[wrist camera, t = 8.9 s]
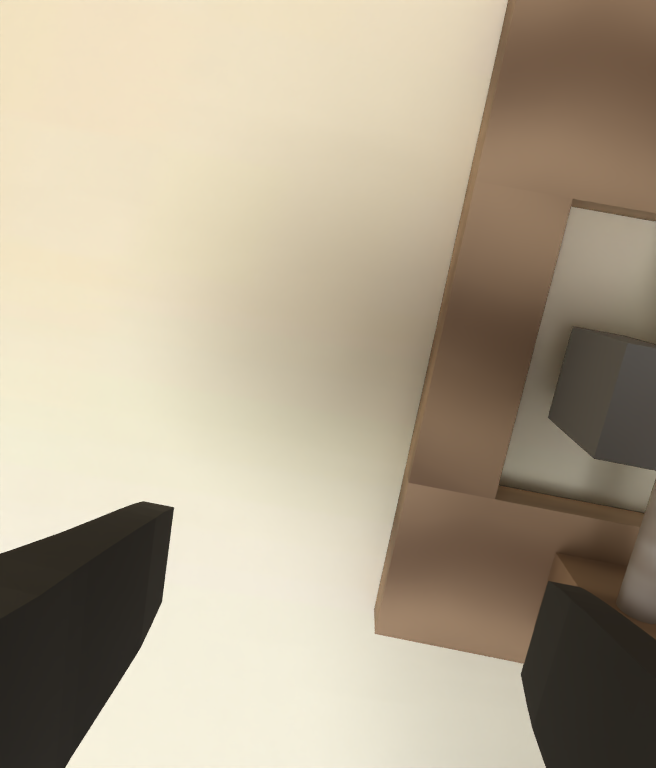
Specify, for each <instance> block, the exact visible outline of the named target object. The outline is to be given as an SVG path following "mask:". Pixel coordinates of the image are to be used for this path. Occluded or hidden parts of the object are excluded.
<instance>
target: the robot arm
mask: <svg viewBox="0 0 656 768" xmlns="http://www.w3.org/2000/svg"><path fill="white" fill-rule="evenodd" d="M173 511H174V507H169V506H164V505H159V504H154V503H149V502H144V501H143V502H139V503H135V504H132V505H129V506H127V507H124V508H121V509H119V510H116V511H114V512H111V513H109V514H106V515H104V516H101V517H99V518H97V519H94V520H92V521H89V522H86V523H84V524H81V525H79V526H76V527H74V528H71V529H69V530H66V531H64V532H61V533H59V534H56V535H53V536H50V537H47V538H44V539H42V540H39V541H36V542H33V543H30V544H27V545H24V546H22V547H19V548H16V549H13V550H10V551H7V552H4V553H1V554H0V768H65V767H66V765H67V763H68V762H69V760H70V758H71V757H72V755H73V754H74V752H75V750H76V749H77V747H78V746H79V744H80V743H81V741H82V740H83V738H84V736H85V735H86V733H87V732H88V730H89V729H90V727H91V725H92V724H93V722H94V721H95V719H96V718H97V716H98V714H99V713H100V711H101V710H102V708H103V707H104V705H105V704H106V702H107V700H108V699H109V697H110V696H111V694H112V693H113V691H114V689H115V688H116V686H117V685H118V683H119V682H120V680H121V678H122V677H123V675H124V674H125V672H126V670H127V669H128V667H129V666H130V664H131V662H132V661H133V659H134V658H135V656H136V654H137V653H138V651H139V650H140V648H141V646H142V644H143V642H144V639H145V637H146V635H147V633H148V631H149V629H150V627H151V625H152V623H153V620H154V618H155V616H156V614H157V612H158V609H159V607H160V605H161V603H162V597H163V589H164V581H165V573H166V565H167V558H168V550H169V542H170V534H171V526H172V519H173ZM521 677H522V682H523V687H524V692H525V697H526V702H527V707H528V711H529V716H530V720H531V724H532V728H533V731H534V734H535V737H536V740H537V743H538V746H539V749H540V752H541V755H542V758H543V760H544V763H545V766H546V768H656V639H654V638H653V637H652V636H650V635H649V634H648V633H646V632H645V631H644V630H642V629H641V628H640V627H638V626H637V625H636V624H634V623H633V622H631V621H630V620H629V619H627V618H626V617H625V616H623V615H622V614H621V613H619V612H618V611H617V610H615V609H614V608H612V607H611V606H610V605H608V604H607V603H605V602H604V601H602V600H601V599H599V598H598V597H596V596H595V595H593V594H592V593H590V592H588V591H587V590H585V589H583V588H581V587H577V586H572V585H567V584H562V583H557V582H552V581H548V583H547V586H546V590H545V593H544V597H543V600H542V603H541V607H540V610H539V614H538V617H537V621H536V624H535V627H534V631H533V634H532V638H531V641H530V645H529V648H528V651H527V655H526V658H525V662H524V665H523V669H522V672H521Z"/></svg>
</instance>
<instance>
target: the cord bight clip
mask: <svg viewBox="0 0 656 768" xmlns="http://www.w3.org/2000/svg"><path fill="white" fill-rule="evenodd" d="M548 418H549V419H550V420H551V421H552V422H553V423H555V424H556V425H557V426H558V427H559V428H560V429H561V430H562V431H563V432H565V433H566V434H567V435H568V436H569V437H570V438H571V439H572V440H574V441H575V442H576V443H577V444H578V445H579V446H580V447H581V448H583V449H584V450H585V451H586V452H587V453H588V454H589V455H590V456H592V457H593V458H594V459H599V460H604V461H609V462H615V463H620V464H625V465H630V466H635V467H640V468H645V469H650V470H655V471H656V345H655V344H652V343H648V342H644V341H641V340H637V339H634V338H630V337H627V336H622V335H617V334H611V333H606V332H601V331H595V330H590V329H584V328H579V327H574V326H573V328H572V331H571V335H570V339H569V342H568V346H567V350H566V353H565V357H564V361H563V364H562V368H561V372H560V375H559V379H558V383H557V386H556V390H555V394H554V397H553V401H552V405H551V408H550V412H549V416H548Z"/></svg>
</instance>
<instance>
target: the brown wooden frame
mask: <svg viewBox="0 0 656 768" xmlns="http://www.w3.org/2000/svg"><path fill="white" fill-rule="evenodd" d="M571 206H572V207H578V208H583V209H589V210H594V211H600V212H606V213H611V214H617V215H623V216H628V217H634V218H639V219H645V220H651V221H656V0H508V4H507V9H506V14H505V18H504V23H503V27H502V32H501V36H500V41H499V45H498V50H497V54H496V59H495V64H494V68H493V73H492V77H491V82H490V86H489V91H488V95H487V100H486V104H485V109H484V113H483V118H482V123H481V127H480V132H479V136H478V141H477V145H476V150H475V154H474V159H473V163H472V168H471V173H470V177H469V182H468V186H467V191H466V195H465V200H464V204H463V209H462V213H461V218H460V222H459V227H458V232H457V236H456V241H455V245H454V250H453V254H452V259H451V263H450V268H449V272H448V277H447V281H446V286H445V291H444V295H443V300H442V304H441V309H440V313H439V318H438V322H437V327H436V331H435V336H434V341H433V345H432V350H431V354H430V359H429V363H428V368H427V372H426V377H425V381H424V386H423V390H422V395H421V400H420V404H419V409H418V413H417V418H416V422H415V427H414V431H413V436H412V440H411V445H410V450H409V454H408V459H407V463H406V468H405V472H404V477H403V481H402V486H401V490H400V495H399V499H398V504H397V509H396V513H395V518H394V522H393V527H392V531H391V536H390V540H389V545H388V549H387V554H386V559H385V563H384V568H383V572H382V577H381V581H380V586H379V590H378V595H377V599H376V604H375V608H374V618H375V634H379V635H384V636H389V637H394V638H399V639H404V640H409V641H414V642H419V643H424V644H429V645H434V646H439V647H444V648H449V649H454V650H459V651H464V652H469V653H474V654H479V655H484V656H489V657H494V658H499V659H504V660H509V661H514V662H519V663H524V662H525V658H526V655H527V651H528V648H529V645H530V641H531V638H532V634H533V631H534V627H535V624H536V621H537V617H538V614H539V610H540V607H541V603H542V600H543V597H544V593H545V590H546V586H547V583H548V581H552V582H557V583H562V584H567V585H572V586H577V587H581V588H583V589H585V590H587V591H588V592H590V593H592V594H593V595H595V596H596V597H598V598H599V599H601V600H602V601H604V602H605V603H607V604H608V605H610V606H611V607H612V608H614V609H615V610H617V611H618V612H619V613H621V614H622V615H623V616H625V617H626V618H627V619H629V620H630V621H631V622H633V623H634V624H636V625H637V626H638V627H640V628H641V629H642V630H644V631H645V632H646V633H648V634H649V635H650V636H652V637H653V638H654V639H656V480H655V483H654V486H653V489H652V492H651V495H650V498H649V501H648V505H647V508H646V511H645V513H640V512H635V511H630V510H625V509H619V508H614V507H609V506H604V505H598V504H593V503H588V502H583V501H578V500H572V499H567V498H562V497H557V496H552V495H546V494H541V493H536V492H531V491H526V490H520V489H515V488H510V487H505V486H499V481H500V477H501V473H502V470H503V466H504V462H505V458H506V454H507V450H508V447H509V443H510V439H511V435H512V431H513V427H514V423H515V420H516V416H517V412H518V408H519V404H520V400H521V397H522V393H523V389H524V385H525V381H526V377H527V373H528V370H529V366H530V362H531V358H532V354H533V350H534V346H535V343H536V339H537V335H538V331H539V327H540V323H541V320H542V316H543V312H544V308H545V304H546V300H547V296H548V293H549V289H550V285H551V281H552V277H553V273H554V270H555V266H556V262H557V258H558V254H559V250H560V246H561V243H562V239H563V235H564V231H565V227H566V223H567V220H568V216H569V212H570V208H571Z"/></svg>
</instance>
